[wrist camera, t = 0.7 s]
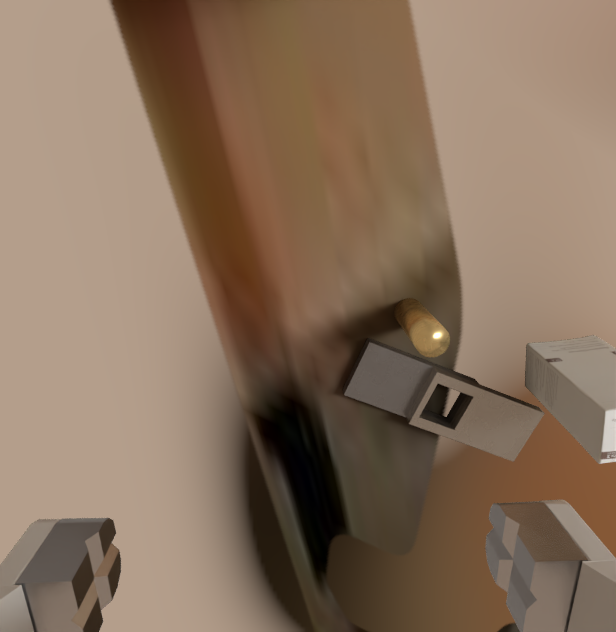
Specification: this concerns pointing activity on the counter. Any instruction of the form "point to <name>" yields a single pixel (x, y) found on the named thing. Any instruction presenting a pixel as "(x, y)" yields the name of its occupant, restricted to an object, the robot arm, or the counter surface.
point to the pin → (422, 328)
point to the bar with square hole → (417, 387)
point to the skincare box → (578, 389)
